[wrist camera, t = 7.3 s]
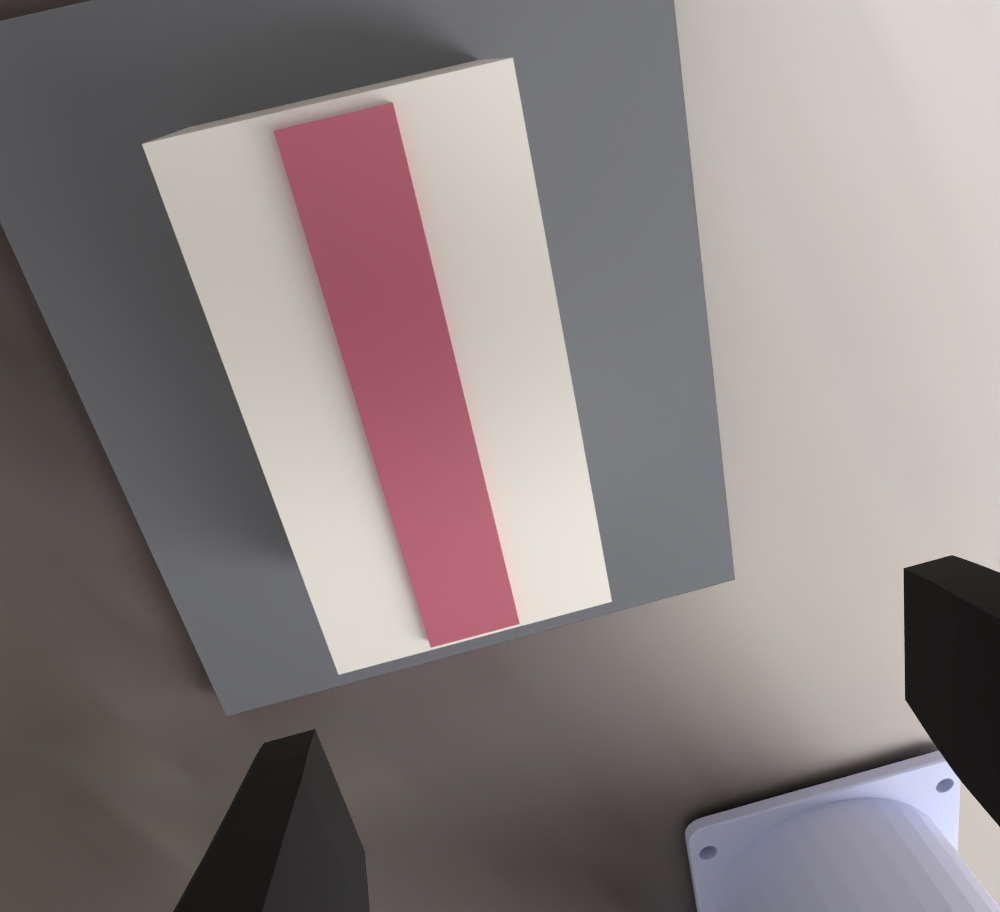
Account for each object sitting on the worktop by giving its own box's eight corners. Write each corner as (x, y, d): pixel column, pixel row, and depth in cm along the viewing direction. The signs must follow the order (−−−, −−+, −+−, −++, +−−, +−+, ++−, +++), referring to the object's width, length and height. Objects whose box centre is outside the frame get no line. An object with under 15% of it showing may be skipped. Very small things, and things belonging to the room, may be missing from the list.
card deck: (478, 59, 15) (516, 57, 11) (568, 510, 18) (615, 607, 15) (188, 127, 14) (138, 145, 11) (341, 570, 18) (338, 682, 15)
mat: (721, 561, 21) (734, 579, 20) (231, 692, 20) (226, 716, 19) (645, -119, 15) (660, -129, 14) (-61, 41, 14) (-85, 39, 13)
